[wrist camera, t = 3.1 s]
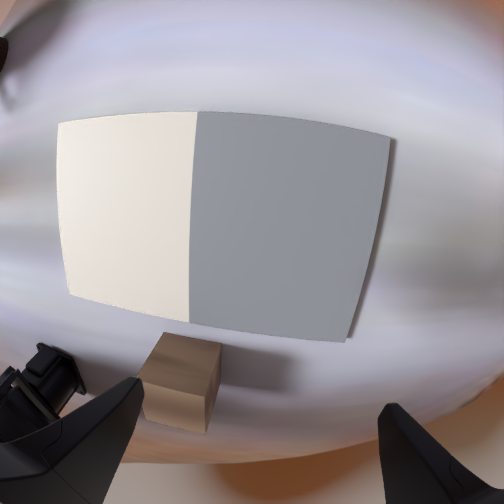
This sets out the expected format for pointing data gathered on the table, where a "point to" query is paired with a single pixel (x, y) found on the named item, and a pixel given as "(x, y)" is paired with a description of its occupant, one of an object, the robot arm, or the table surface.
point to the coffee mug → (3, 51)
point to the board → (221, 218)
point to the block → (181, 382)
